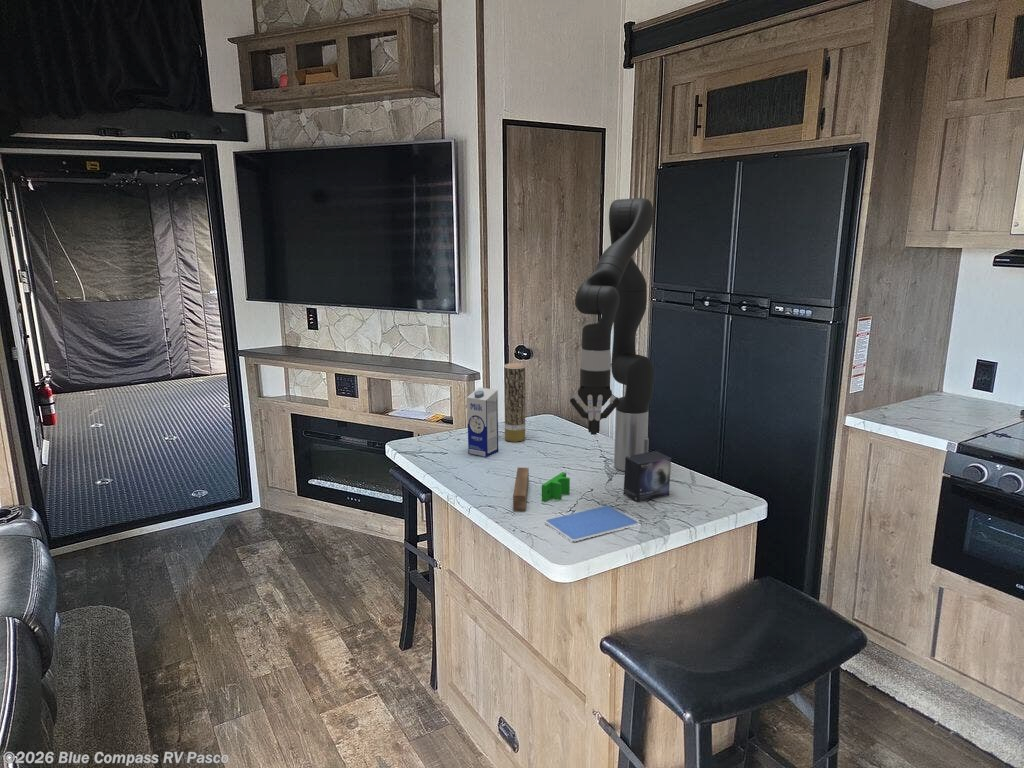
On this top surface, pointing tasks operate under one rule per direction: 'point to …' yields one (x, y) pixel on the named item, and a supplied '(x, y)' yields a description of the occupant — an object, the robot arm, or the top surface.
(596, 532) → the tablet computer
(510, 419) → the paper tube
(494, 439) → the milk carton
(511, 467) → the top surface
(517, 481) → the block
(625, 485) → the small box
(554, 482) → the pipe clamp
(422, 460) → the top surface
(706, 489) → the top surface
